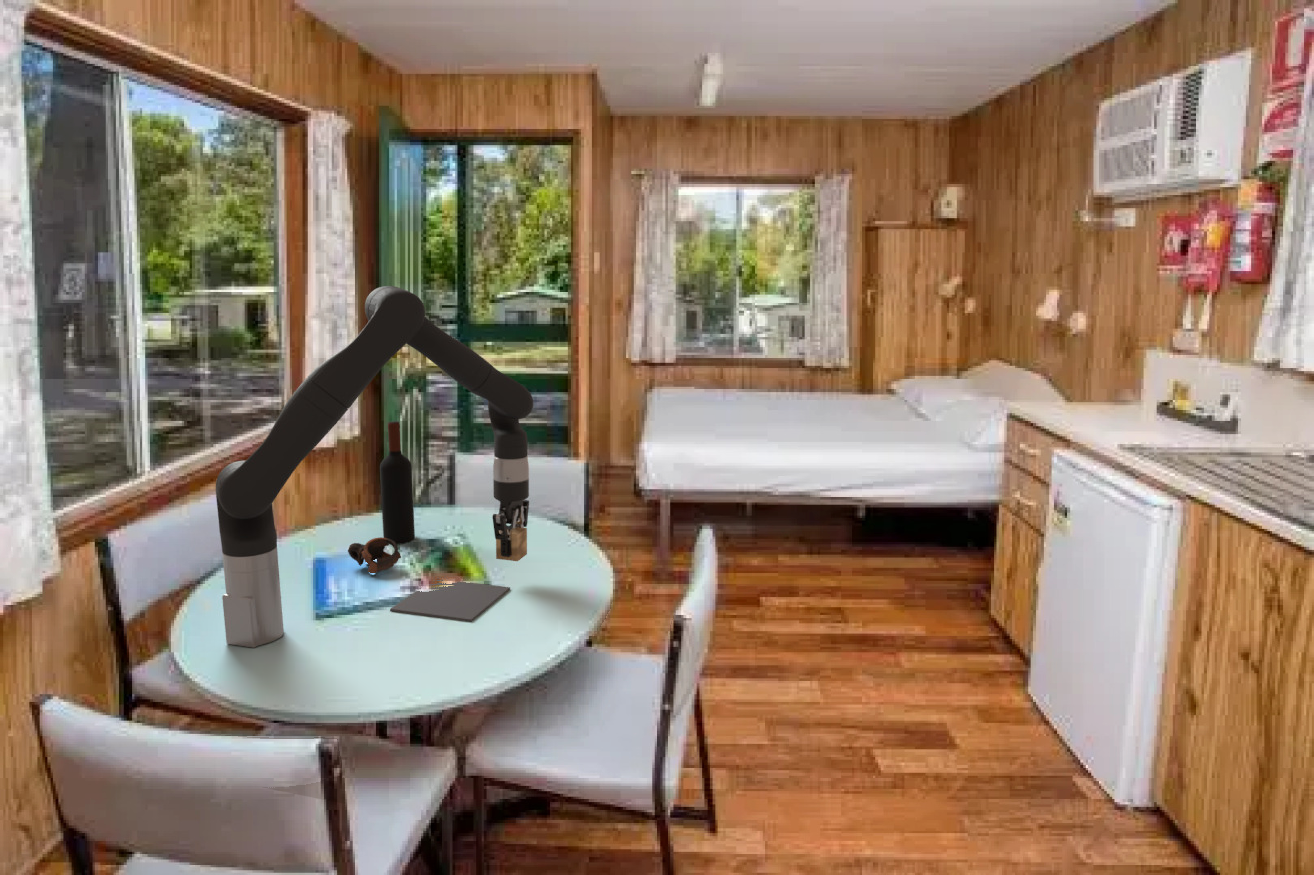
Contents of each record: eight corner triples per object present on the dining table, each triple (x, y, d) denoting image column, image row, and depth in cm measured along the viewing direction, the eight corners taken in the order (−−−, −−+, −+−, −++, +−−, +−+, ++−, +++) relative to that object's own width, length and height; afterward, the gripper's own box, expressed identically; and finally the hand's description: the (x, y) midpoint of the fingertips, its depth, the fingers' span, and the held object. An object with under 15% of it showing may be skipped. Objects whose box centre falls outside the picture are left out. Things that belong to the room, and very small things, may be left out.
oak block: (517, 561, 193) (517, 534, 191) (496, 558, 194) (495, 532, 193) (527, 554, 197) (526, 528, 196) (506, 551, 199) (505, 525, 198)
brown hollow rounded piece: (403, 562, 211) (406, 538, 206) (391, 592, 203) (394, 568, 198) (352, 550, 209) (354, 525, 204) (338, 580, 202) (340, 555, 197)
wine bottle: (377, 542, 223) (371, 423, 217) (394, 533, 230) (388, 418, 224) (404, 545, 221) (398, 425, 215) (420, 536, 228) (415, 420, 222)
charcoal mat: (471, 621, 176) (471, 619, 176) (390, 611, 181) (390, 608, 181) (510, 589, 193) (510, 587, 193) (435, 580, 198) (435, 578, 198)
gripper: (513, 486, 184) (513, 564, 188) (540, 470, 198) (540, 544, 201) (479, 482, 186) (481, 560, 190) (509, 467, 200) (509, 540, 203)
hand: (511, 551), depth 195 cm, fingers closed on oak block, 5 cm apart
